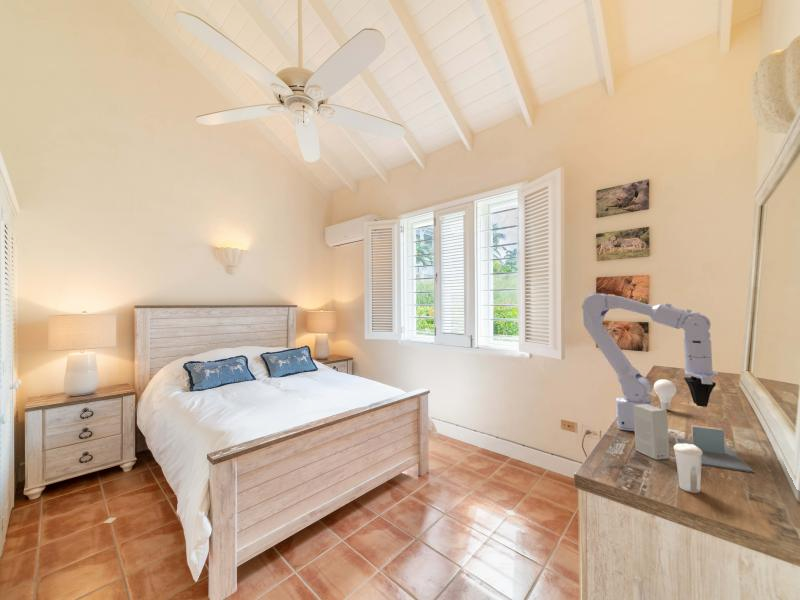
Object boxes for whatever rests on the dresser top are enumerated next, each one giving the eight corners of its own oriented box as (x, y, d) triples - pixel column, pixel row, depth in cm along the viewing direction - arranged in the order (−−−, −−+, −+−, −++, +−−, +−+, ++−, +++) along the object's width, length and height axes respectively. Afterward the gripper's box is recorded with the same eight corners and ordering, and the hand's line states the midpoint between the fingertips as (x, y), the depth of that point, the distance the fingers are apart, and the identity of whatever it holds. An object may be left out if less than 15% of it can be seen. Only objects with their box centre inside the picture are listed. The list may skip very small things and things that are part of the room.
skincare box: (670, 458, 82) (668, 410, 83) (655, 460, 82) (653, 411, 82) (648, 448, 88) (646, 403, 89) (634, 450, 88) (632, 404, 88)
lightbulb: (650, 408, 121) (648, 378, 122) (662, 406, 123) (661, 377, 124) (668, 413, 115) (667, 382, 116) (681, 411, 117) (680, 380, 118)
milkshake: (686, 480, 72) (684, 434, 72) (710, 494, 67) (708, 444, 67) (666, 481, 72) (664, 435, 72) (688, 495, 67) (686, 445, 67)
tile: (693, 450, 86) (692, 426, 86) (691, 447, 87) (690, 424, 87) (724, 454, 83) (723, 430, 83) (722, 452, 84) (721, 428, 85)
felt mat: (690, 463, 80) (690, 461, 80) (674, 439, 94) (674, 437, 94) (753, 472, 75) (753, 471, 75) (726, 446, 89) (726, 444, 89)
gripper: (727, 360, 85) (729, 414, 84) (708, 353, 98) (710, 399, 97) (691, 359, 88) (693, 410, 88) (677, 352, 101) (679, 397, 101)
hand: (700, 404), depth 93 cm, fingers closed
